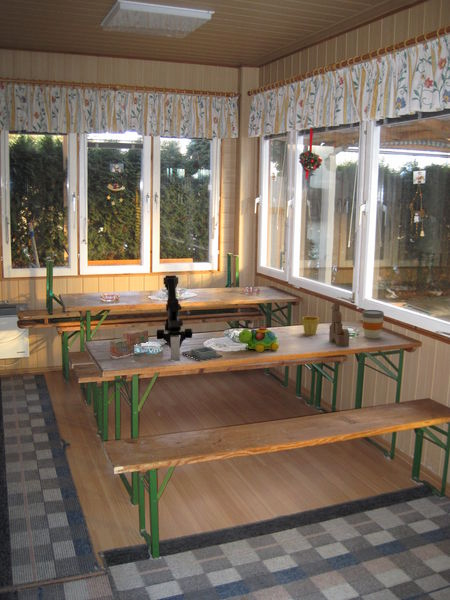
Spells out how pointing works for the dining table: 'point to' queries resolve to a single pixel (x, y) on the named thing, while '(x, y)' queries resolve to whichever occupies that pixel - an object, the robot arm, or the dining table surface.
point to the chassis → (202, 353)
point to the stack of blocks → (128, 342)
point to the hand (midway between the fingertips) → (175, 347)
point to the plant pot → (310, 324)
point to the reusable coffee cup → (372, 323)
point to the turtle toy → (259, 339)
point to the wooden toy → (338, 327)
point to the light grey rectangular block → (175, 347)
